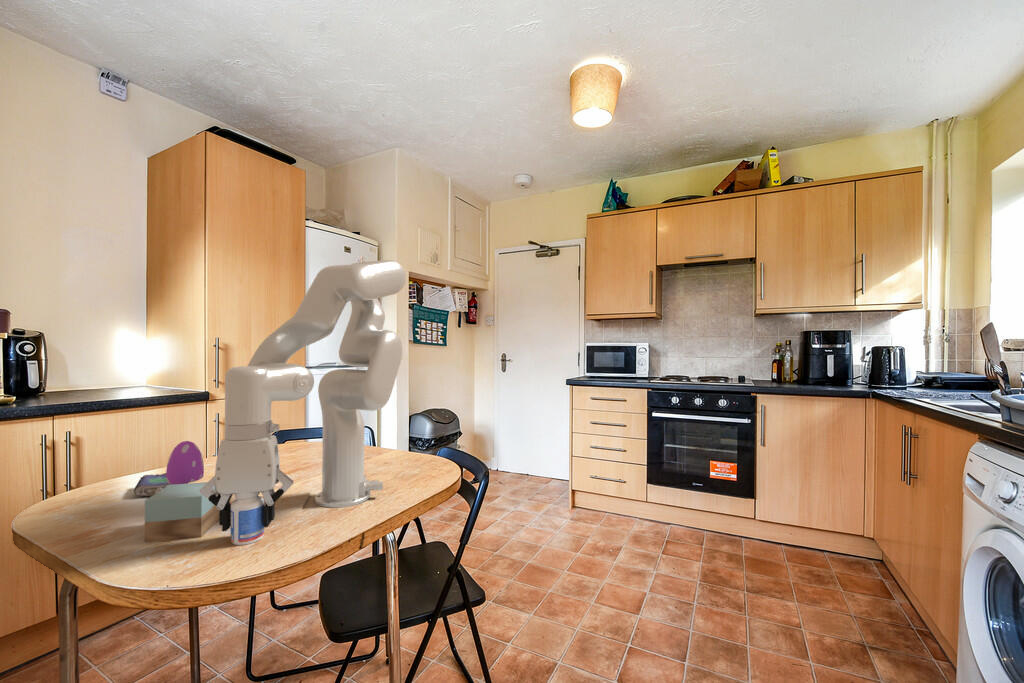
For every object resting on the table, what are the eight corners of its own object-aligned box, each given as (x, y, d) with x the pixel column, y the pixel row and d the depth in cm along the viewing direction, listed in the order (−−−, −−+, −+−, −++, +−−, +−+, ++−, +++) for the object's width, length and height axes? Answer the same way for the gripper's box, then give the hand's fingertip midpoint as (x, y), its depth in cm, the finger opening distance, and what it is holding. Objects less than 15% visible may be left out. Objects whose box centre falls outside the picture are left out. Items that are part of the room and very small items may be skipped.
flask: (186, 470, 113) (182, 484, 104) (185, 481, 113) (181, 496, 104) (140, 474, 108) (131, 489, 99) (139, 486, 108) (130, 502, 99)
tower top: (219, 500, 90) (219, 481, 90) (201, 517, 82) (201, 496, 82) (169, 504, 88) (169, 484, 88) (144, 522, 79) (144, 500, 79)
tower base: (219, 519, 90) (219, 500, 90) (201, 538, 82) (201, 517, 82) (168, 524, 88) (169, 504, 88) (144, 544, 79) (144, 522, 79)
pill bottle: (270, 534, 84) (271, 484, 84) (249, 547, 78) (249, 493, 78) (245, 531, 85) (246, 482, 85) (223, 544, 79) (223, 491, 79)
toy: (183, 515, 92) (183, 445, 92) (157, 513, 93) (158, 443, 93) (211, 504, 98) (211, 438, 98) (186, 501, 100) (187, 437, 100)
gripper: (302, 425, 87) (301, 514, 87) (203, 429, 83) (203, 523, 83) (294, 433, 80) (293, 529, 80) (186, 438, 75) (185, 540, 76)
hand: (247, 525), depth 81 cm, fingers open, 6 cm apart
